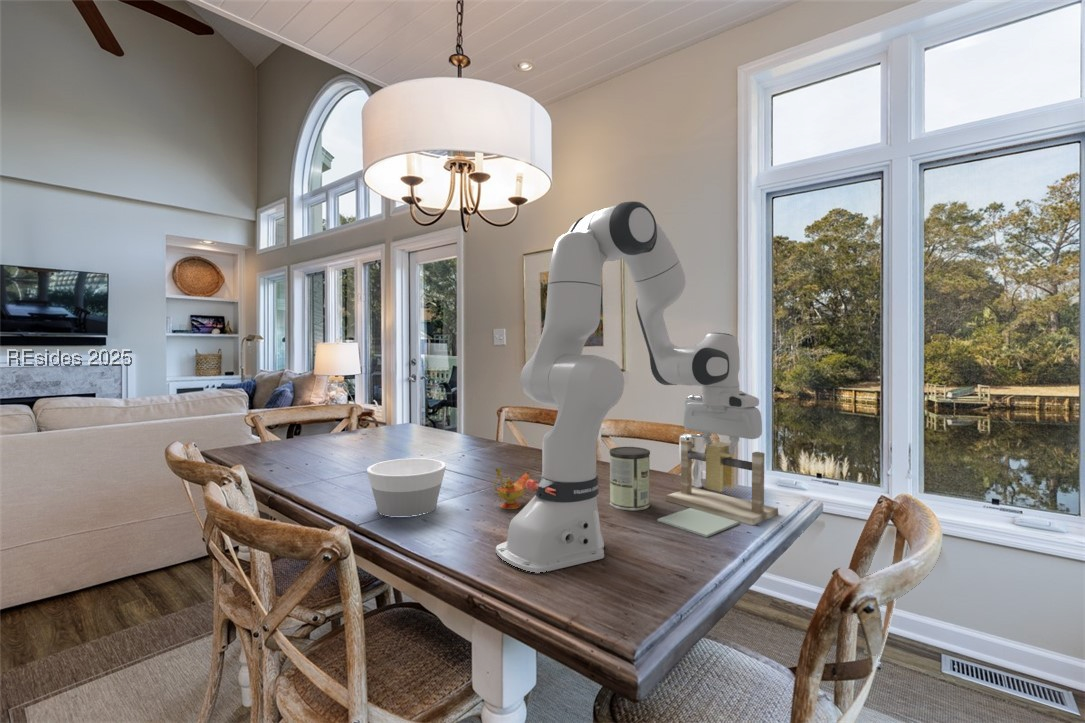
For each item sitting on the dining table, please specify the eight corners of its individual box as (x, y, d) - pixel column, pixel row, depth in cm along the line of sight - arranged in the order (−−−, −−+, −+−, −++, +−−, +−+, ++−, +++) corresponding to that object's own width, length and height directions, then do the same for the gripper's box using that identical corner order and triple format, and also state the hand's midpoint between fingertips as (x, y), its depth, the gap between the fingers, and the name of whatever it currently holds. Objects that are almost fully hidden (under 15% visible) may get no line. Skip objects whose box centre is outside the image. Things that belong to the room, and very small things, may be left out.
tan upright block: (719, 491, 123) (720, 447, 123) (705, 488, 127) (706, 444, 126) (733, 487, 127) (734, 444, 127) (719, 484, 131) (720, 441, 130)
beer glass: (700, 483, 150) (701, 433, 149) (705, 490, 143) (706, 437, 142) (676, 483, 150) (677, 433, 150) (680, 489, 143) (681, 437, 143)
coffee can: (615, 496, 136) (616, 445, 136) (653, 501, 132) (654, 448, 132) (604, 507, 127) (604, 452, 127) (644, 513, 123) (644, 455, 122)
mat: (706, 537, 107) (706, 534, 107) (657, 521, 117) (657, 518, 117) (739, 523, 115) (739, 521, 115) (690, 509, 125) (690, 507, 125)
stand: (752, 525, 114) (753, 457, 114) (666, 500, 133) (666, 442, 132) (778, 514, 122) (778, 450, 121) (692, 492, 140) (693, 437, 140)
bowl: (385, 527, 113) (384, 480, 112) (355, 507, 127) (355, 465, 127) (460, 510, 125) (460, 467, 125) (425, 493, 140) (424, 454, 139)
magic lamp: (542, 497, 136) (542, 456, 136) (506, 516, 120) (506, 470, 120) (520, 493, 139) (520, 454, 139) (483, 511, 123) (483, 467, 123)
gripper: (678, 395, 133) (678, 447, 133) (752, 401, 117) (751, 460, 117) (692, 393, 137) (692, 444, 137) (765, 399, 121) (765, 456, 121)
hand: (720, 452), depth 127 cm, fingers closed on tan upright block, 4 cm apart
